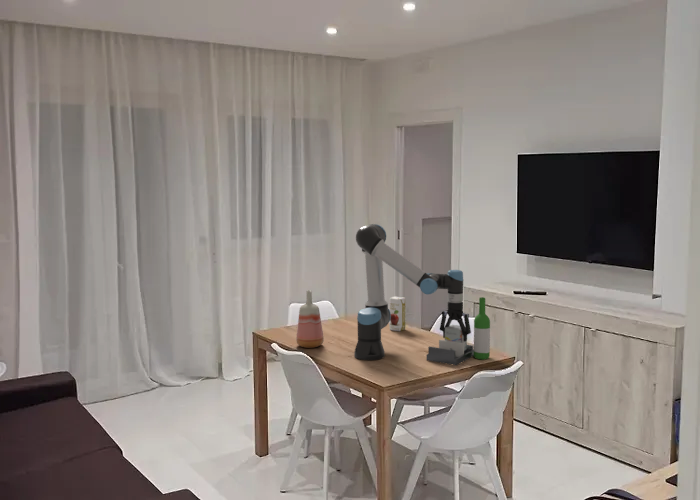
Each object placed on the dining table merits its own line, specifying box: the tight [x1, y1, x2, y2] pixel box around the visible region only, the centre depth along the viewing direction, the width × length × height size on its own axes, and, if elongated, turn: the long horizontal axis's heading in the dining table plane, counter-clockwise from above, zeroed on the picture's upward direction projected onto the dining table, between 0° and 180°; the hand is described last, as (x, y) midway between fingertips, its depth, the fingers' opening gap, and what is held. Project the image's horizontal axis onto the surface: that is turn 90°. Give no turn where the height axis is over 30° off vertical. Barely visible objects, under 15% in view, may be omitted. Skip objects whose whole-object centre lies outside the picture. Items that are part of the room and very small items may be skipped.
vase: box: [295, 290, 325, 349], centre depth 349 cm, size 14×14×30 cm
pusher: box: [438, 339, 464, 357], centre depth 325 cm, size 13×6×7 cm, turn 55°
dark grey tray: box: [426, 344, 474, 366], centre depth 326 cm, size 16×21×7 cm
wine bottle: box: [473, 296, 491, 361], centre depth 324 cm, size 8×8×30 cm
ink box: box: [444, 324, 468, 350], centre depth 330 cm, size 9×9×12 cm
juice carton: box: [388, 295, 407, 332], centre depth 384 cm, size 8×9×19 cm
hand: (454, 346), depth 330 cm, fingers open, 9 cm apart
